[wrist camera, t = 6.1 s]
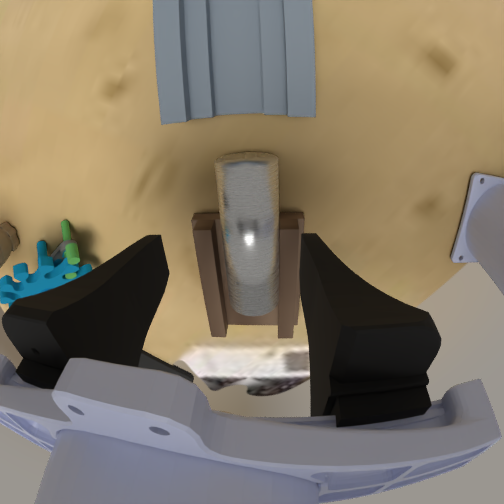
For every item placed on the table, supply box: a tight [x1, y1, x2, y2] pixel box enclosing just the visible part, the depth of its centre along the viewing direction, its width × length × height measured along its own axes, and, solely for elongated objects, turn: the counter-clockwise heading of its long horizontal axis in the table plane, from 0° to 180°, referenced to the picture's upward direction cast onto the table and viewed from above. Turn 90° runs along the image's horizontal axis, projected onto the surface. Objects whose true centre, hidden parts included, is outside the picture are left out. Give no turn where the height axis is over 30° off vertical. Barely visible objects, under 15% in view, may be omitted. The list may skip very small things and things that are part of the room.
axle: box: [214, 152, 279, 316], centre depth 19 cm, size 10×4×4 cm, turn 3°
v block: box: [153, 0, 316, 125], centre depth 13 cm, size 8×8×4 cm
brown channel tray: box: [191, 212, 304, 338], centre depth 22 cm, size 8×10×2 cm
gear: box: [0, 220, 93, 307], centre depth 22 cm, size 11×6×10 cm
